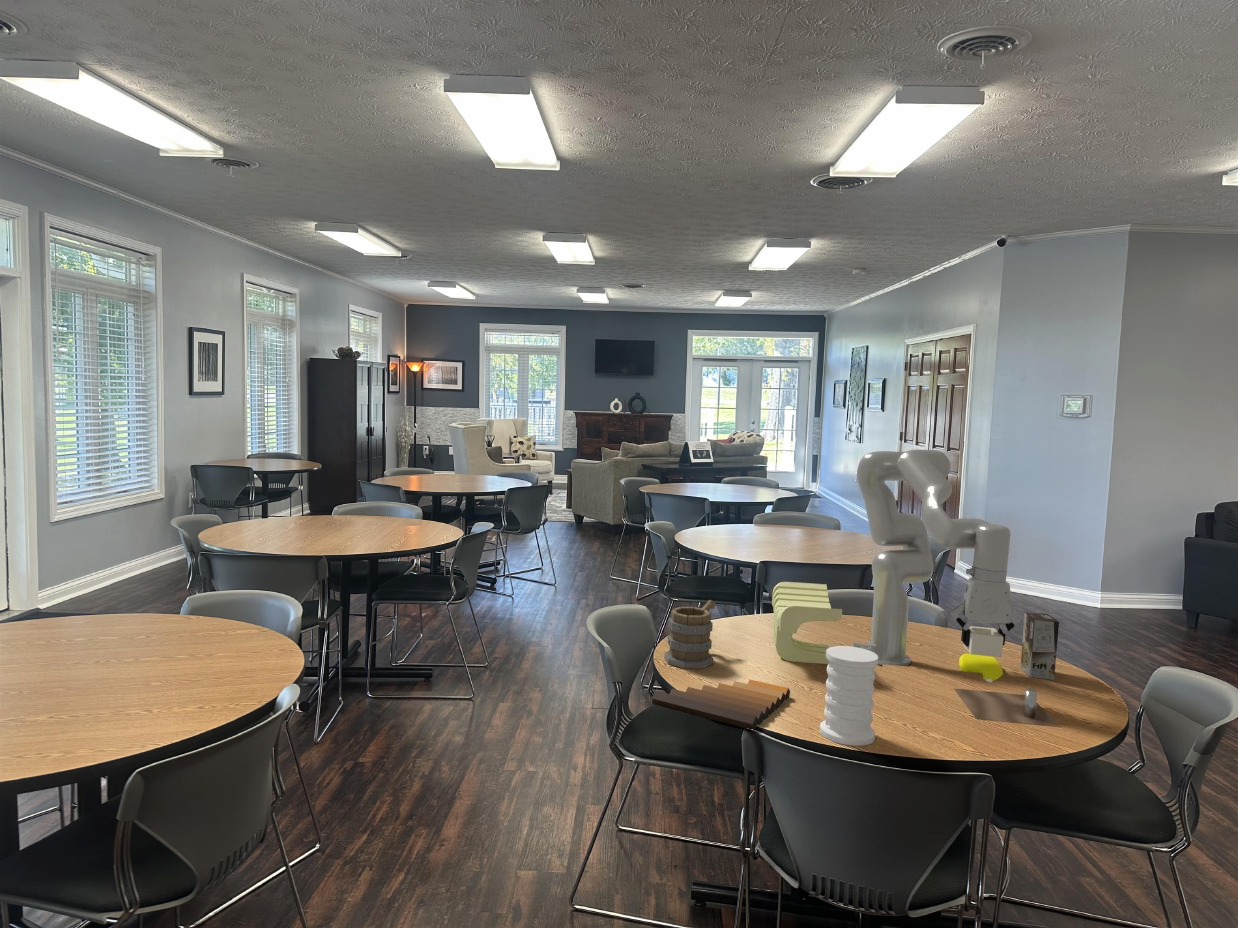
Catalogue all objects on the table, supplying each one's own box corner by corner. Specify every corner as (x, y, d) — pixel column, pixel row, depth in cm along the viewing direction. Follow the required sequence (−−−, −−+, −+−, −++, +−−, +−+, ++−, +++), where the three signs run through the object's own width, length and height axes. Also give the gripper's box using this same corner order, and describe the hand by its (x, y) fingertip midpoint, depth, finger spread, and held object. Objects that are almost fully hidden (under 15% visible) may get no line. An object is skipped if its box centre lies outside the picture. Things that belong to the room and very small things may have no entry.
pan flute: (651, 706, 183) (752, 733, 170) (651, 692, 183) (752, 718, 170) (697, 677, 204) (789, 699, 191) (697, 665, 204) (790, 685, 191)
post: (1025, 717, 180) (1027, 692, 179) (1022, 713, 182) (1024, 688, 182) (1036, 718, 180) (1038, 693, 179) (1033, 714, 182) (1035, 689, 181)
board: (975, 725, 178) (976, 718, 178) (953, 694, 198) (953, 688, 198) (1060, 733, 175) (1061, 727, 175) (1029, 701, 195) (1029, 695, 195)
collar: (970, 654, 189) (972, 634, 188) (962, 645, 196) (964, 625, 195) (1001, 657, 188) (1003, 636, 187) (992, 647, 195) (994, 628, 194)
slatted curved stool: (770, 637, 241) (773, 580, 240) (823, 641, 239) (826, 584, 238) (777, 669, 211) (781, 604, 210) (838, 674, 209) (842, 609, 208)
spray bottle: (998, 667, 222) (1010, 697, 199) (957, 661, 226) (964, 691, 203) (999, 657, 222) (1011, 686, 199) (957, 651, 226) (964, 679, 203)
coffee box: (1055, 680, 212) (1060, 621, 211) (1029, 677, 213) (1034, 619, 212) (1044, 669, 221) (1048, 613, 220) (1019, 666, 222) (1024, 611, 221)
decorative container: (837, 719, 178) (842, 642, 177) (884, 736, 170) (890, 655, 169) (809, 732, 170) (813, 651, 169) (857, 750, 162) (862, 666, 161)
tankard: (696, 672, 207) (698, 616, 206) (656, 661, 214) (659, 607, 213) (732, 654, 223) (735, 603, 222) (695, 645, 230) (697, 595, 229)
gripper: (955, 575, 188) (948, 647, 189) (1032, 581, 185) (1025, 654, 187) (947, 568, 195) (941, 638, 197) (1021, 574, 192) (1014, 645, 194)
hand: (982, 645), depth 192 cm, fingers closed on collar, 7 cm apart
